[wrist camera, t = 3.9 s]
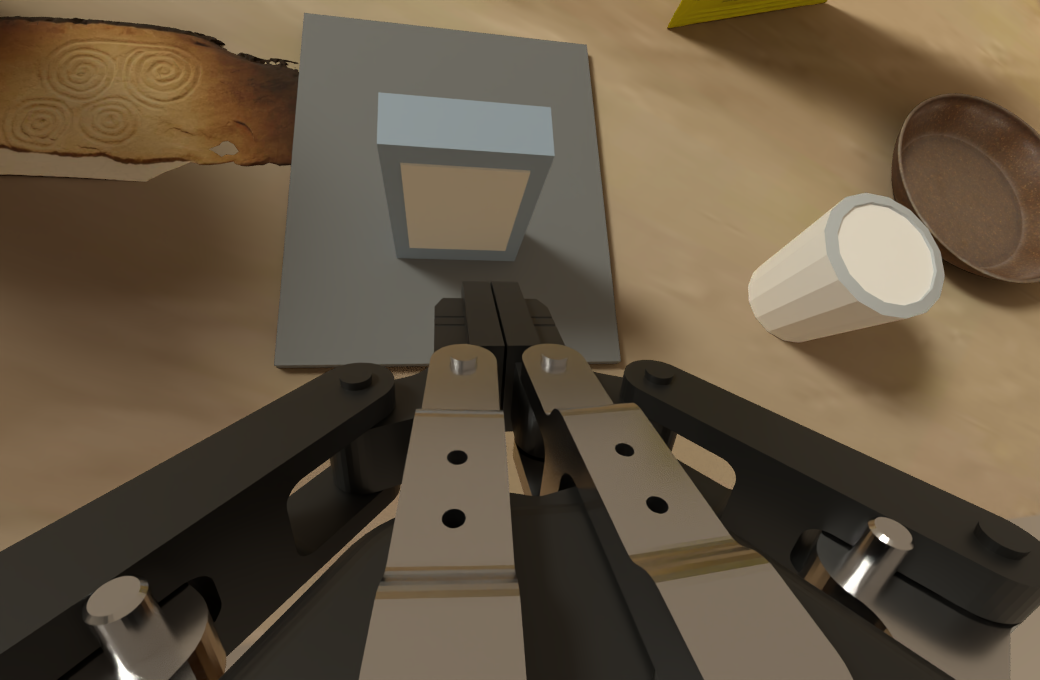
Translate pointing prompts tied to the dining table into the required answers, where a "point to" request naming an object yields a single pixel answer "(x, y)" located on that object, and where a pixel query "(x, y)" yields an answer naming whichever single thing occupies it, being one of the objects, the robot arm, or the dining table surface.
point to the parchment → (134, 100)
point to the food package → (728, 9)
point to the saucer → (973, 184)
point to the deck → (461, 174)
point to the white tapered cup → (849, 272)
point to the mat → (364, 211)
